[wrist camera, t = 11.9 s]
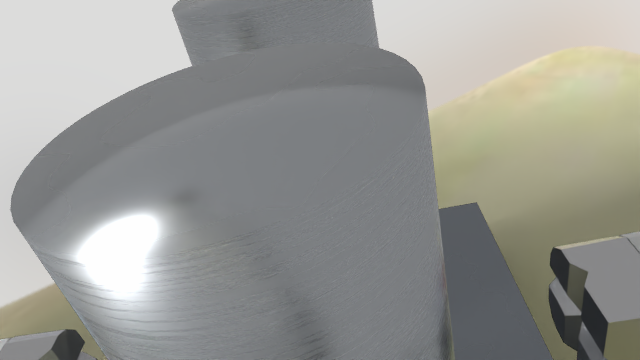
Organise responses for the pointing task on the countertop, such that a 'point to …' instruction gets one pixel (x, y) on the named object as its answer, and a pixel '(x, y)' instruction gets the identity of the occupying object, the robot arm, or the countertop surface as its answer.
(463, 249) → the pallet
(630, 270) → the robot arm
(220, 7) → the seated billet
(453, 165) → the countertop surface
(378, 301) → the billet
